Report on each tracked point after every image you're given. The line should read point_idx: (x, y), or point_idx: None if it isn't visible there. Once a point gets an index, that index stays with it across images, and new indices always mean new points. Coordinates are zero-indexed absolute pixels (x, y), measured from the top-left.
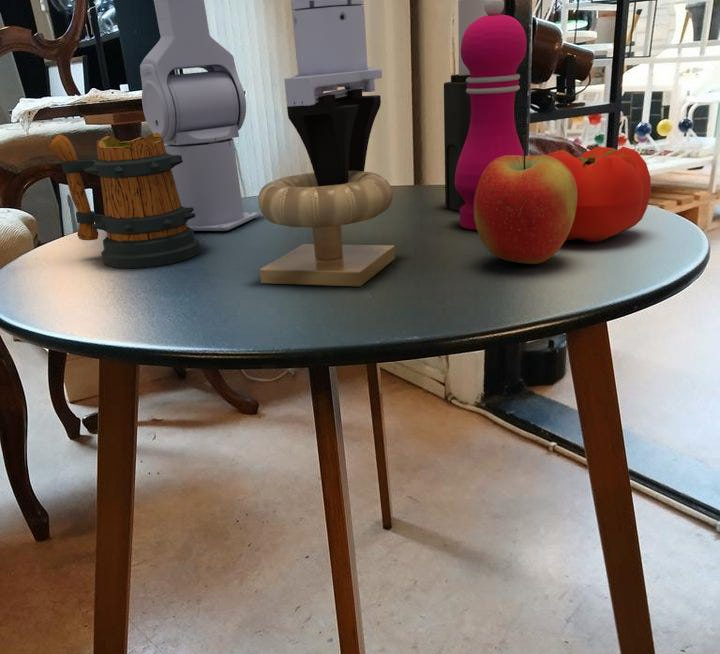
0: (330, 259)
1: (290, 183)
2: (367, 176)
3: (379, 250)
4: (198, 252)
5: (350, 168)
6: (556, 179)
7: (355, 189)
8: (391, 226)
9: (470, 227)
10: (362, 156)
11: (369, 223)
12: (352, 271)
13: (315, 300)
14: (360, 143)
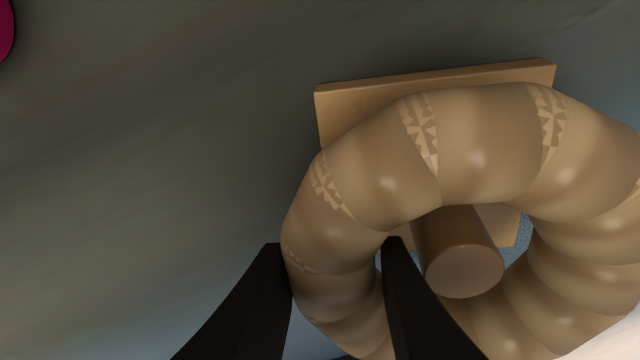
0: None
1: None
2: (426, 200)
3: (363, 105)
4: (350, 357)
5: (276, 295)
6: None
7: (626, 158)
8: (89, 198)
9: (10, 19)
10: (258, 296)
11: (93, 240)
12: (550, 82)
13: (627, 103)
14: (246, 337)
